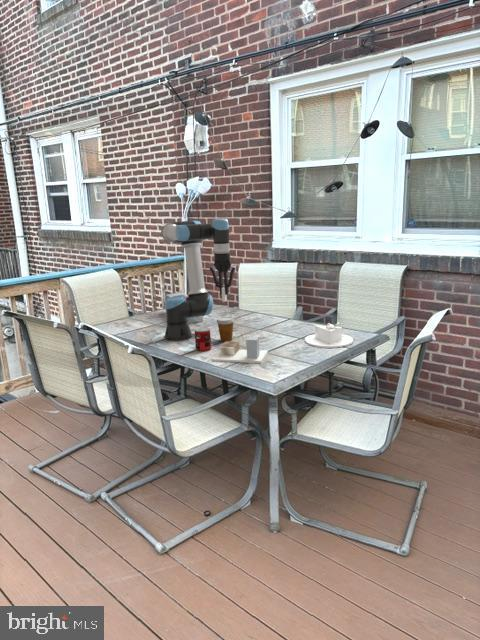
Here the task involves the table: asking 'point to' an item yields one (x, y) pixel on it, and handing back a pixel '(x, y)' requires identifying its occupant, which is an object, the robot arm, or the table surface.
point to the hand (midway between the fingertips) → (224, 301)
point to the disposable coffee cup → (225, 328)
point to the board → (240, 357)
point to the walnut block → (229, 348)
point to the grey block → (252, 347)
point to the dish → (328, 337)
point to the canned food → (202, 339)
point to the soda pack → (190, 320)
